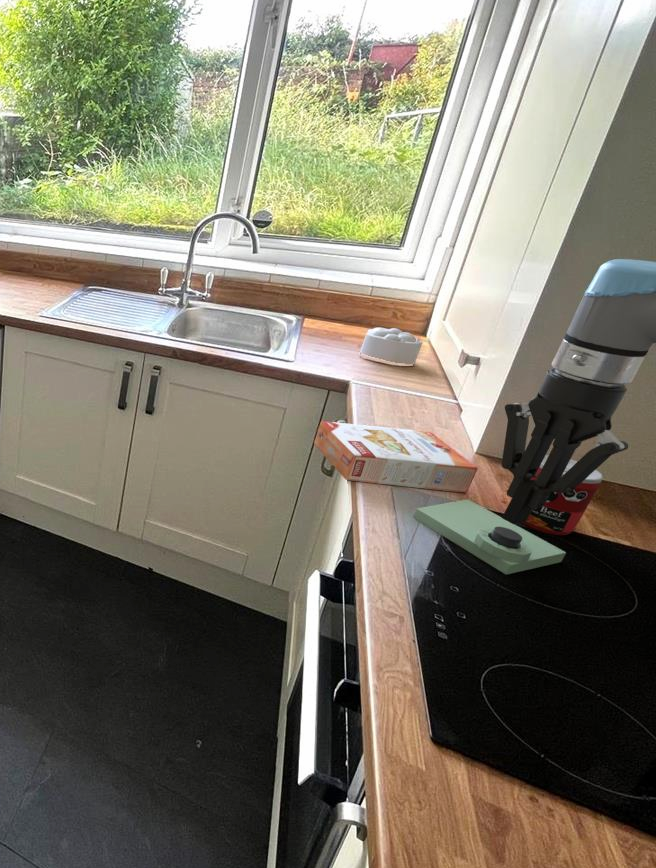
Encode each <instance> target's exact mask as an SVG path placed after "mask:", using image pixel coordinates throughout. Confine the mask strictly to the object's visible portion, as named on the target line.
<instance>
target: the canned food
mask: <svg viewBox="0 0 656 868" xmlns="http://www.w3.org/2000/svg"><path fill="white" fill-rule="evenodd" d="M548 456H549V455H548V454H546V455H545V457H544V459H543V461H542V463H541V465H540V467H539V469H538V471H537V473H536V475H538V476H539V474H540V472H541V470H542V468H543V466H544V464H545V462H546V460H547V458H548ZM577 462H578V461H577V460H575V459H572V458H571V459H570V461H569V463H568V465H567V467H566V468H565V470H564V472H563V474H562V476H563V475H564V474H565V473H566V472H567V471H568V470H569V469H570V468H571V467H573V466H574V465H575V464H576V463H577ZM538 476H537V477H534V478H531V480H535V481H536V480H537V478H538ZM562 476H561V477H562ZM603 478H604V476H603V474H602V473H601V472H600V471H598V470H597V469H596V470H595V471H594V472H592V473H591V474H590V475H589V476H588V477H587V478H586V479H585V480H584V481H583V482H582V483H580V484H579V485H578V486H577V487H576V488H575V489H574V490H573V491H569V492H563V493H555V492H553V491H551V493H550V495H549V496H548V498H547V500H546V502H545V504H544V506H542V507H541V508H536V509H532V511H531V513H530V515H529V517H528V519H527V521H526V522H522V523H521V524H523V525H525V526H527V527H528V528H531V529H533V530H536V531H539V532H542V533H546V534H549V535H555V536H567V535H570V534H571V533H573V531H575V529H576V527H577V526H578V524H579V522H580V520H581V519H582V517H583V516H584V514H585V512H586V510H587V508H588V507H589V505H590V503H591V501H592V499H593V498H594V496H595V495H596V492H597V491H598V489H599V487H600V485H601V483H602V481H603Z"/></svg>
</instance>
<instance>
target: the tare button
mask: <svg viewBox="0 0 656 868" xmlns="http://www.w3.org/2000/svg"><path fill="white" fill-rule="evenodd" d="M490 539H491V540H492V541H494V542H495V543H497V544H499V545H501V546H504V547H507V548H512V549H517V548H518V546H519V545H520V543H521V541H522V536H521V535H520V534H518V533H517V532H515V531H513V530H511V529H508V528H504V527H495V528H494V530H493V532H492V534H491V536H490Z"/></svg>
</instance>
